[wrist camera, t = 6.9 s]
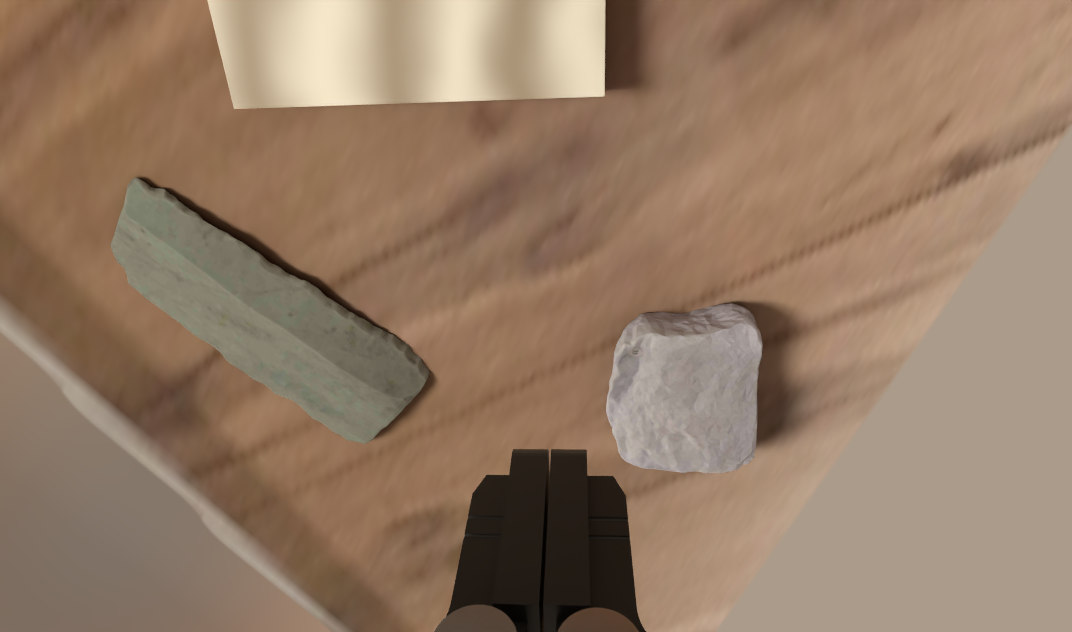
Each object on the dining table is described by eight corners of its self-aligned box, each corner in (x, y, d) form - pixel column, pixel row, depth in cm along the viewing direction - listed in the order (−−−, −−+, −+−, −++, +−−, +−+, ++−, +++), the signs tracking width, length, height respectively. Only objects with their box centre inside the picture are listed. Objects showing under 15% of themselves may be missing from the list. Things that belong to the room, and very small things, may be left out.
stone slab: (372, 432, 49) (441, 362, 44) (359, 458, 47) (430, 387, 42) (105, 261, 43) (148, 157, 38) (75, 281, 41) (117, 174, 36)
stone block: (617, 433, 48) (754, 443, 46) (608, 475, 44) (757, 488, 42) (608, 295, 43) (761, 295, 40) (595, 327, 39) (765, 330, 36)
